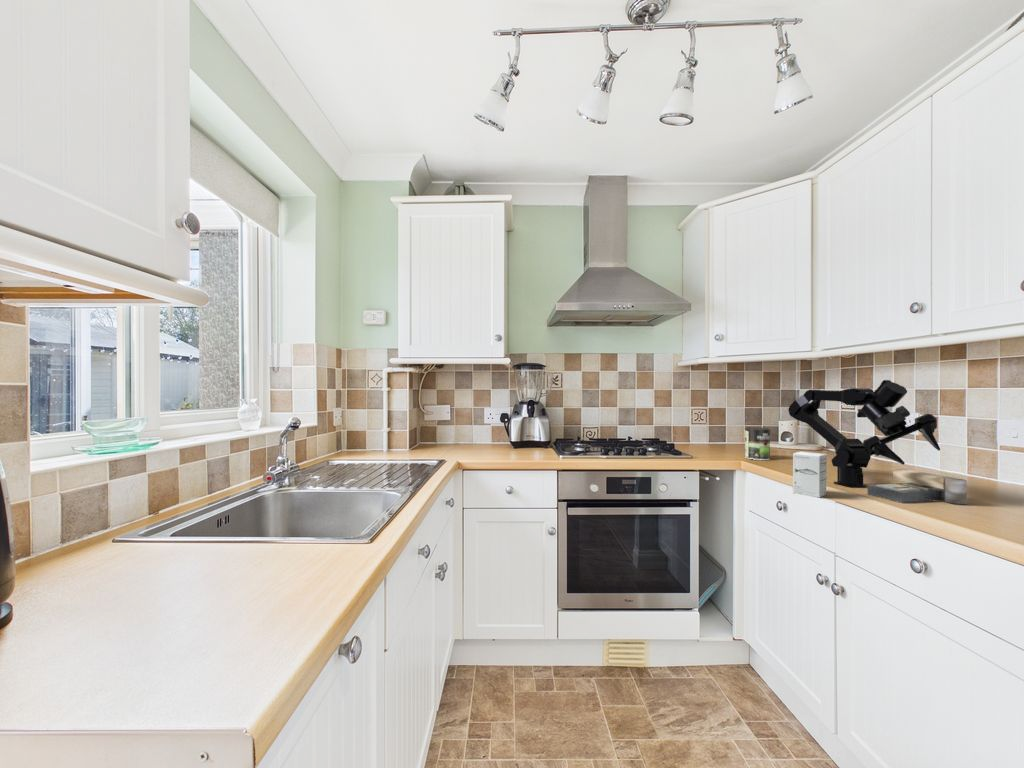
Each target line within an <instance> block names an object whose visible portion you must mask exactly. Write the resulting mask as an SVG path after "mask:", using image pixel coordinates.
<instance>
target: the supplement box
mask: <svg viewBox="0 0 1024 768" xmlns="http://www.w3.org/2000/svg"><path fill="white" fill-rule="evenodd" d="M827 461H828V454H826V453H818V452H809V451H801V450H800V451H796V452H794V453H793V454H792V494H793V495H794V494H797V495H803V496H808V497H812V498H813V497H814V498H818V499H819V498H823V497H824V496H826V495H827V479H828V478H827V477H828V476H827V473H828V472H827V469H828V467H827V463H828V462H827Z"/></svg>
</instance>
